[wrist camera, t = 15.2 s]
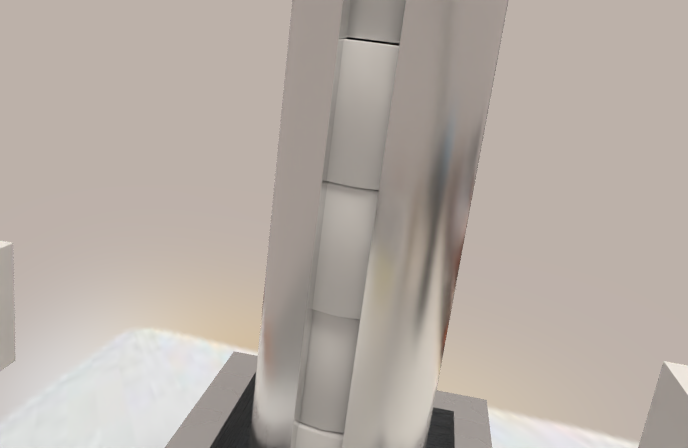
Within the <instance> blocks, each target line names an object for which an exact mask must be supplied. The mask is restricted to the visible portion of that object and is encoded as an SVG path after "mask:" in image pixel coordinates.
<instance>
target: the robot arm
mask: <svg viewBox="0 0 688 448" xmlns="http://www.w3.org/2000/svg"><path fill="white" fill-rule="evenodd" d="M14 315H15V314H14V264H13V243H10V242H5V241H0V371H1V370H2V369H4V368H5V367H7V366H8V365H10V364H11V363H13V362H14V361H15V316H14ZM638 448H688V365H682V364H677V363H671V362H666V361H664V362H663V365H662V369H661V372H660V376H659V379H658V383H657V386H656V389H655V393H654V396H653V399H652V403H651V406H650V410H649V413H648V416H647V420H646V423H645V427H644V430H643V433H642V437H641V440H640V444H639V447H638Z"/></svg>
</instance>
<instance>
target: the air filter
mask: <svg viewBox="0 0 688 448" xmlns="http://www.w3.org/2000/svg"><path fill="white" fill-rule="evenodd" d="M507 6H508V0H292V9H291V20H290V30H289V40H288V51H287V61H286V72H285V81H284V92H283V103H282V113H281V124H280V134H279V144H278V154H277V164H276V174H275V185H274V195H273V205H272V215H271V225H270V236H269V246H268V256H267V267H266V278H265V287H264V297H263V308H262V318H261V329H260V339H259V349H258V359H257V369H256V380H255V390H254V400H253V411H252V421H251V431H250V441H249V448H426V444H427V438H428V433H429V428H430V422H431V417H432V411H433V406H434V401H435V395H436V390H437V384H438V379H439V374H440V368H441V363H442V357H443V352H444V346H445V340H446V335H447V330H448V325H449V319H450V314H451V309H452V303H453V298H454V292H455V287H456V281H457V276H458V270H459V265H460V260H461V255H462V249H463V244H464V238H465V233H466V227H467V222H468V217H469V211H470V206H471V200H472V195H473V189H474V184H475V179H476V173H477V168H478V163H479V157H480V152H481V146H482V141H483V135H484V130H485V124H486V119H487V114H488V108H489V102H490V97H491V92H492V87H493V81H494V76H495V71H496V65H497V60H498V54H499V48H500V44H501V38H502V33H503V27H504V22H505V16H506V11H507Z"/></svg>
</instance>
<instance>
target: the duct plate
mask: <svg viewBox="0 0 688 448" xmlns="http://www.w3.org/2000/svg"><path fill="white" fill-rule="evenodd" d="M257 359H258V356H255V355H249V354H244V353H239V352H233V354H232V355H231V357H230V358H229V359H228V361H227V362H226V364H225V365H224V366H223V368H222V369H221V370H220V372H219V373H218V375H217V376H216V377H215V379H214V380H213V382H212V383H211V384H210V386H209V387H208V388H207V390H206V391H205V393H204V394H203V395H202V397H201V398H200V400H199V401H198V402H197V404H196V405H195V406H194V408H193V409H192V411H191V412H190V413H189V415H188V416H187V418H186V419H185V420H184V422H183V423H182V425H181V426H180V427H179V429H178V430H177V431H176V433H175V434H174V436H173V437H172V438H171V440H170V441H169V443H168V444H167V445H166V447H165V448H249V441H250V431H251V421H252V411H253V400H254V390H255V380H256V369H257ZM426 448H492V443H491V434H490V426H489V417H488V409H487V400H484V399H478V398H473V397H468V396H462V395H458V394H452V393H447V392H442V391H437V390H436V395H435V401H434V406H433V411H432V417H431V422H430V428H429V433H428V438H427V444H426Z"/></svg>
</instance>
